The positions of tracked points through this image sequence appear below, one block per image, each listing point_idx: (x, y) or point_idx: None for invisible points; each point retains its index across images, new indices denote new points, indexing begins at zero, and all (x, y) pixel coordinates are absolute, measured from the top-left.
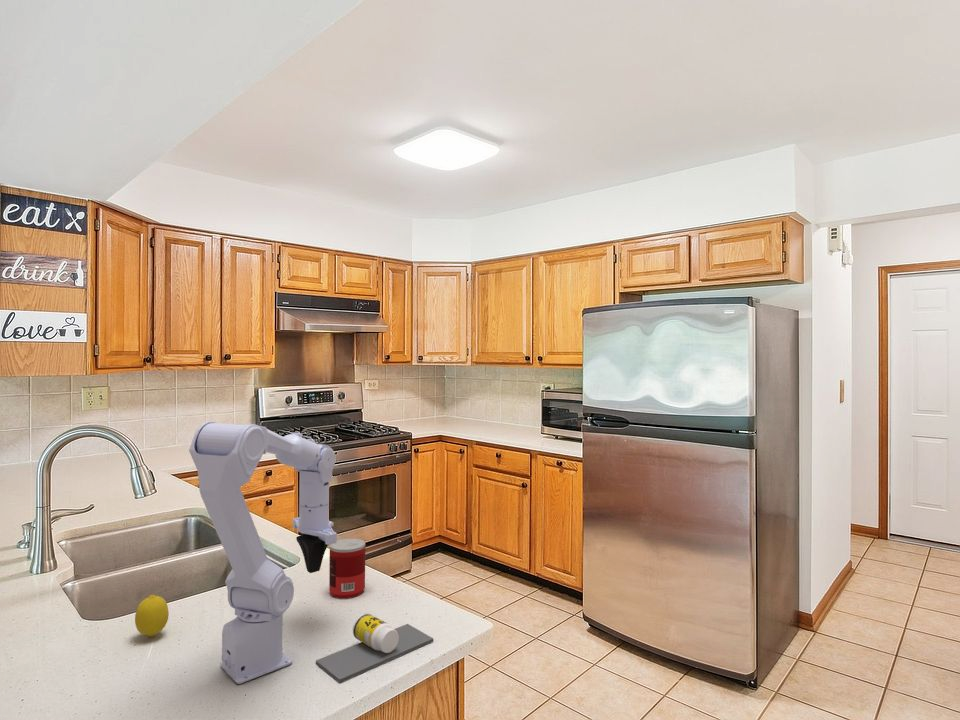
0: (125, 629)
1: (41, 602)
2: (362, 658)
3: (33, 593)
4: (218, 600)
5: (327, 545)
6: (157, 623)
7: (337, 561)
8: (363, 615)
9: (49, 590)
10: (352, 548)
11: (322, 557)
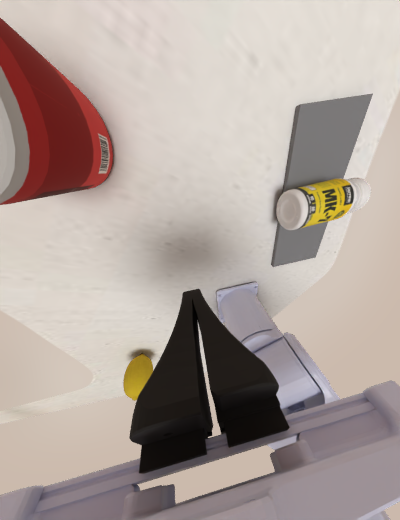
0: (118, 366)
1: (39, 406)
2: (309, 226)
3: (15, 414)
4: (65, 323)
5: (243, 346)
6: (151, 367)
7: (52, 187)
8: (307, 217)
9: (7, 411)
10: None
11: (213, 313)
